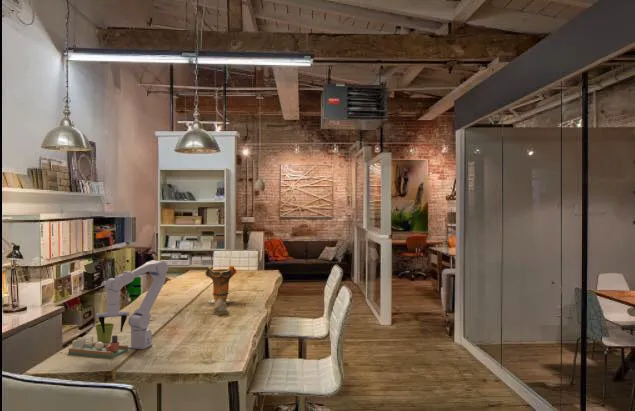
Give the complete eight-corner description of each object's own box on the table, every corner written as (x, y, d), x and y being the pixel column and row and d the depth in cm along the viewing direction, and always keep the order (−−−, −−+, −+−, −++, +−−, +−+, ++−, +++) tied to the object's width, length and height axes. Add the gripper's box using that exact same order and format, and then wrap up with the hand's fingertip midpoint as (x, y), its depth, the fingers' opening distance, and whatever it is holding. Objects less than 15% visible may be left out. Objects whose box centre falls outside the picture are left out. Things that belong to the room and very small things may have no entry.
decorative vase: (202, 299, 376) (204, 262, 377) (232, 299, 383) (235, 263, 384) (204, 304, 356) (207, 265, 357) (236, 304, 363) (238, 266, 364)
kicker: (120, 349, 236) (121, 334, 236) (112, 352, 230) (113, 337, 230) (114, 348, 237) (114, 334, 237) (105, 351, 231) (106, 337, 231)
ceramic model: (230, 314, 325) (230, 299, 325) (213, 315, 321) (213, 300, 321) (226, 310, 338) (226, 295, 338) (209, 311, 334) (209, 296, 334)
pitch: (127, 350, 239) (127, 345, 239) (111, 357, 227) (111, 352, 227) (86, 347, 244) (86, 342, 244) (68, 353, 233) (68, 348, 233)
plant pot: (108, 338, 261) (108, 322, 261) (117, 341, 255) (117, 324, 255) (91, 342, 254) (91, 325, 254) (100, 345, 248) (100, 328, 248)
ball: (105, 349, 237) (105, 341, 237) (99, 351, 233) (100, 343, 233) (98, 348, 238) (98, 340, 238) (92, 351, 234) (92, 342, 234)
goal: (93, 346, 241) (93, 336, 241) (81, 351, 233) (81, 340, 233) (84, 346, 242) (84, 335, 242) (72, 350, 234) (72, 340, 234)
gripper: (128, 301, 242) (128, 328, 242) (96, 303, 236) (96, 331, 236) (129, 303, 235) (129, 332, 235) (96, 305, 230) (95, 334, 229)
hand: (112, 332), depth 235 cm, fingers open, 7 cm apart
